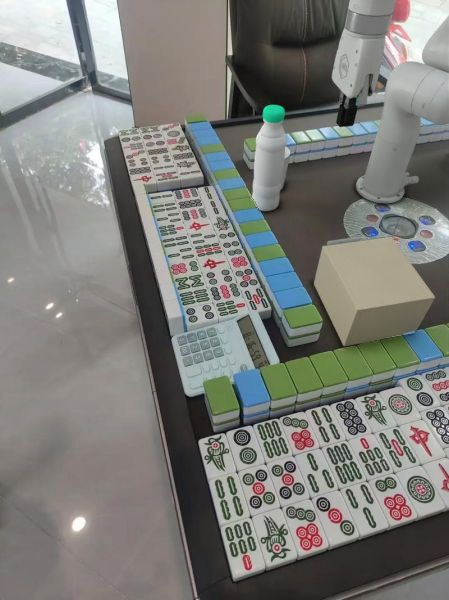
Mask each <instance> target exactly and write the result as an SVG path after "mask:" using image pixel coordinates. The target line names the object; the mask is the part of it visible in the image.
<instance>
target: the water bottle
mask: <svg viewBox="0 0 449 600" xmlns="http://www.w3.org/2000/svg"><path fill="white" fill-rule="evenodd" d="M285 116H286V110H285V108H284V107H283V106H281V105H278V104H269V105H266V106H265V107H264V108H263V110H262V120H263V125H262V126H261V127H260V130H259V131H258V133H257V135H256V138H255V151H254V163H253V180H252V193H251V199H252V198H253V199H254V201H255V202H256V204H257V206H258V208H259V210H258V211H262V212H271V211H274V210H275V209H277V208H278V206H279V204H280V197H281V196H280V193H281V190H282V189H281V178H282V173H283V166H284V158H285V146H286V147H287V143H288V142H287V135H286V133H285V129H284V127H283V124H282V123H283V122H284V121H285ZM280 189H281V190H280Z"/></svg>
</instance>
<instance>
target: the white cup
mask: <svg viewBox="0 0 449 600" xmlns="http://www.w3.org/2000/svg"><path fill="white" fill-rule="evenodd" d="M290 157H291V150H290V149H289V147H287V145H286V146H285V158H284V166H283V173H282V178H281V189H280V191H281V190H283V188H284V186H285V181H286V178H287V172H288V167H289V161H290Z"/></svg>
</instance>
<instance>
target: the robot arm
mask: <svg viewBox="0 0 449 600" xmlns="http://www.w3.org/2000/svg"><path fill="white" fill-rule="evenodd" d="M396 3H397V0H349V2H348V6H347V11H346V18H345V23H344V27H343V29H342V33H341V36H340V38H339V43H338V46H337V50H336V54H335V57H334V63H333V68H332V73H331V80H332V82H333V83H334V84H335V86H336V87H338V89H339V90H340V94H339V107H338V111H337V116H336V121H335V124H336V125H337V126H338V127H339V128H346V127H353V126H354V125H355V121H356V116H357V112H358V109H360V107H365V106H367V103H368V97H372V96H373V94H374V92H375V90H376V87H377V83H378V80H379V77H380V72H381V67H382V64H383V63H382V62H383V58H384V57H383V56H384V50H385V45H386V37H387V36H388V34H389V30H390V26H391V22H392V19H393V15H394V11H395V7H396ZM421 59H422V62H423V63H422V62H419V61H415V60H414V61H413V60H408V61H404V62H402V63H399V64H397V65H396V66H395V67H394V68H393V70H392V71H391V72H390V74H389V76H388V78H387V81H386V84H385V87H384V88H385V89H384V100H383V107H382V113H381V117H380V121H379V125H378V128H377V132H376V136H375V139H374V142H373V146H372V149H371V153H370V157H369V160H368V164H367V167H366V170H365V173H364V174H363V175H362V176H360V177H359V178H357V181H356V182H355V183H356V184H355V189H356V191H357V193H358V195H360V196H361V197H362V198H364V199H366V200H368V201H370V202H372V203H373V202H374V203H377V204H391V203H396V202H398V201H401V199H402V198H403V196H405V192H406V189H405V187H406V186H408V185H414V184H418V183H419V180H420V178H419V176H418V175H413V176H410V173H409V172H408V171H407V169H408V167H409V164H410V161H411V158H412V156H413V153H414V150H415V147H416V145H417V142H418V140H419V136H420V134H421V129H422V121H421V119H423V120H425V121H427V122H430V123H432V124H436V125H437V126H438V125H439V126H445V125H448V124H449V15H448V16H447V17H445V19H444V20H443V21H442V23H440V25H439V26H438V27H437V29H435V31H434V32H433V34H432V35H431V36H430V37H429V39H428V40H427V42H426V43H425V45H424V47H423V49H422V51H421Z"/></svg>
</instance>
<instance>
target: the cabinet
mask: <svg viewBox="0 0 449 600" xmlns="http://www.w3.org/2000/svg"><path fill="white" fill-rule="evenodd" d="M378 238H379V239H374V238H371V239H372V240H366V239H364V240H365V241H357V242H350V243H343V244H336V245H329V246H323V245H322V246H323V247H321V250H322V252H321V251H320V254H321V256H320V255H319V258H320V260H319V259H318V263H319V264H318V263H317V267H318V268H316V271H317V272H316V271H315V275H316V277H314V281H313V286H314V288H315V290H316V292H317V294H318V296H319V298H320V300H321V302H322V304H323V306H324V308H325V310H326V312H327V315H328V316H329V317H328V318H329V319H330V321H331V324H332V325H333V327H334V329H335V331H336V333H337V336H338V337H339V339H340V342H341V344H342V346H343V347H349V346H354V345H360V344H366V343H371V342H370V341H372V342H376V341H375V340H377V341H381V340H380V339H383V338H387V337H392V336H396V335H402V334H404V333H407V332H411V331H416V330H418V328H419V327H420V326H421V323H422V321H423V320H424V318H425V317H426V315H427V313H428V312H429V310H430V308H431V306H432V304H433V302H434V300H435V299H436V296H435V295H434V293H433V292H432V291H431V289H430V288H429V287H428V285H427V284H426V283H425V281H424V280H423V278H422V277H421V275H420V274H419V273H418V271H417V269H416V268H415V267H414V266H413V264H412V262H411V261H410V260H409V258H408V257H407V255H406V254H405V253H404V252H403V250H402V249H401V248H400V246H399V244H398V243H397V242H396V241H395V239H394V237H393V236H387V237H386V236H385V238H381V237H378ZM416 332H417V331H416ZM383 340H384V339H383Z"/></svg>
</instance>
